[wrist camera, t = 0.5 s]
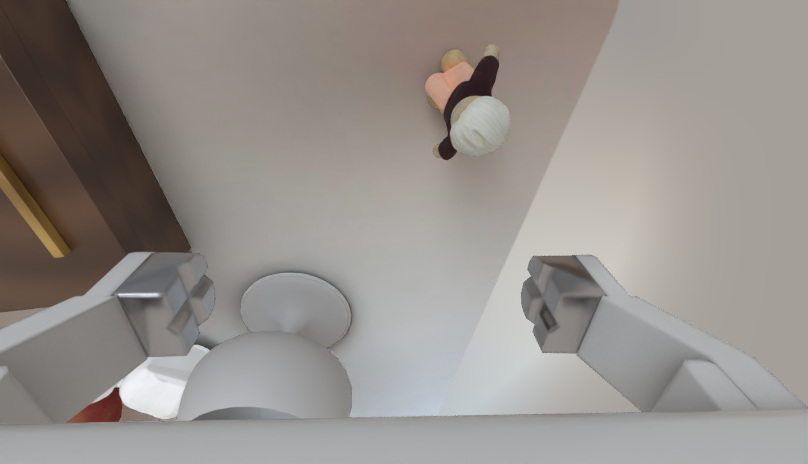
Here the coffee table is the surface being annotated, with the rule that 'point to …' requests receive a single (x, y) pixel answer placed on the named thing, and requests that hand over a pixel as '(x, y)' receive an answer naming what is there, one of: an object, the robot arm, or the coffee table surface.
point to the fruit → (101, 410)
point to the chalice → (276, 357)
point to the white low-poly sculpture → (158, 383)
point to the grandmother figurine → (468, 104)
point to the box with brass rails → (66, 165)
